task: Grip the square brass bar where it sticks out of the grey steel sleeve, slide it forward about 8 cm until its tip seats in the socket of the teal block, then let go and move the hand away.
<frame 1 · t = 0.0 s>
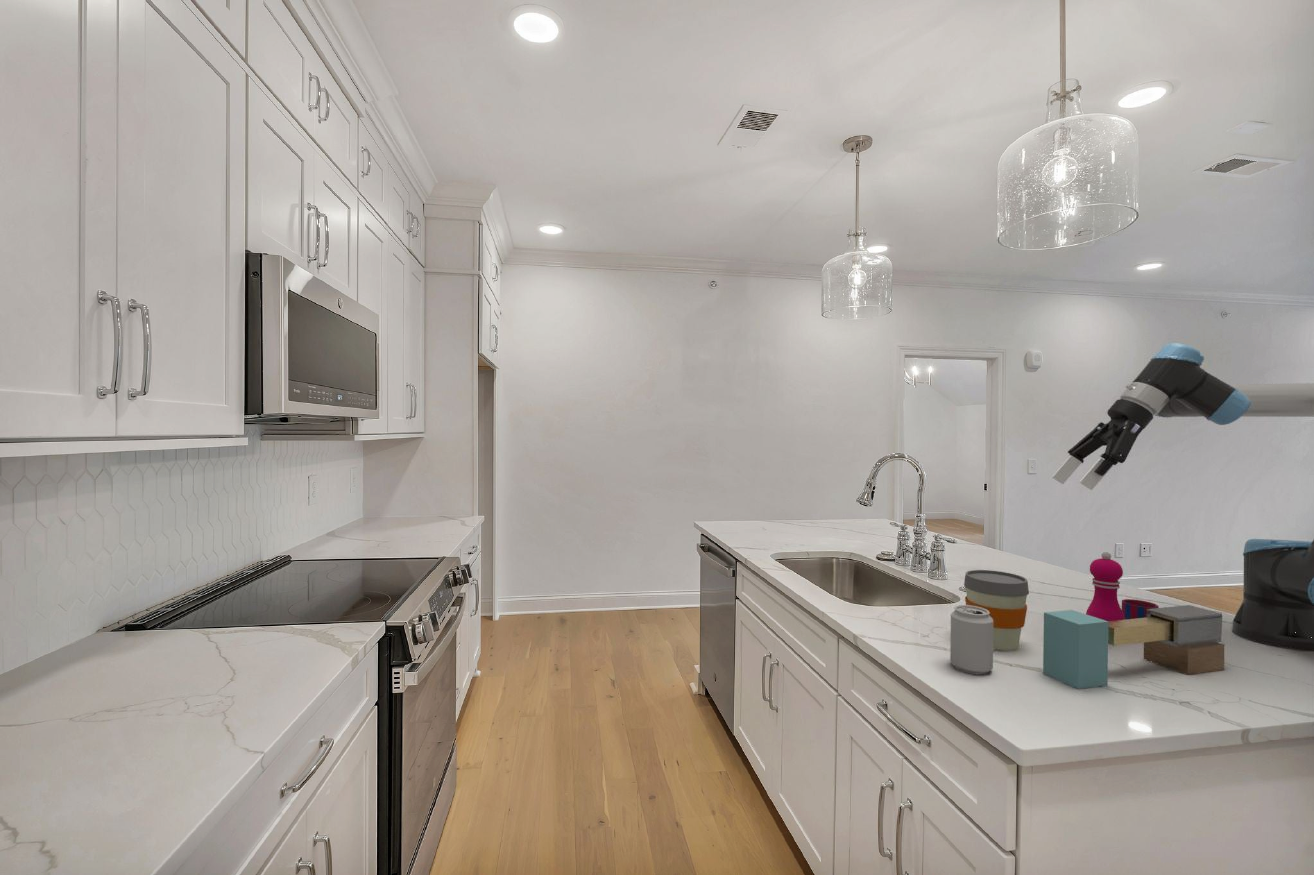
hand: (1070, 483, 129), 36 cm above the counter, tool tilted 35°, fingers open, 13 cm apart
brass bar: (1158, 628, 115), point 8 cm above the counter, slide at 0.0 cm
can: (971, 669, 114), on the counter
pepper mill: (1104, 639, 131), on the counter
sleeve stand: (1182, 664, 116), on the counter
cup: (1147, 634, 134), on the counter
socket block: (1076, 678, 109), on the counter
reusable coffee cup: (994, 643, 128), on the counter
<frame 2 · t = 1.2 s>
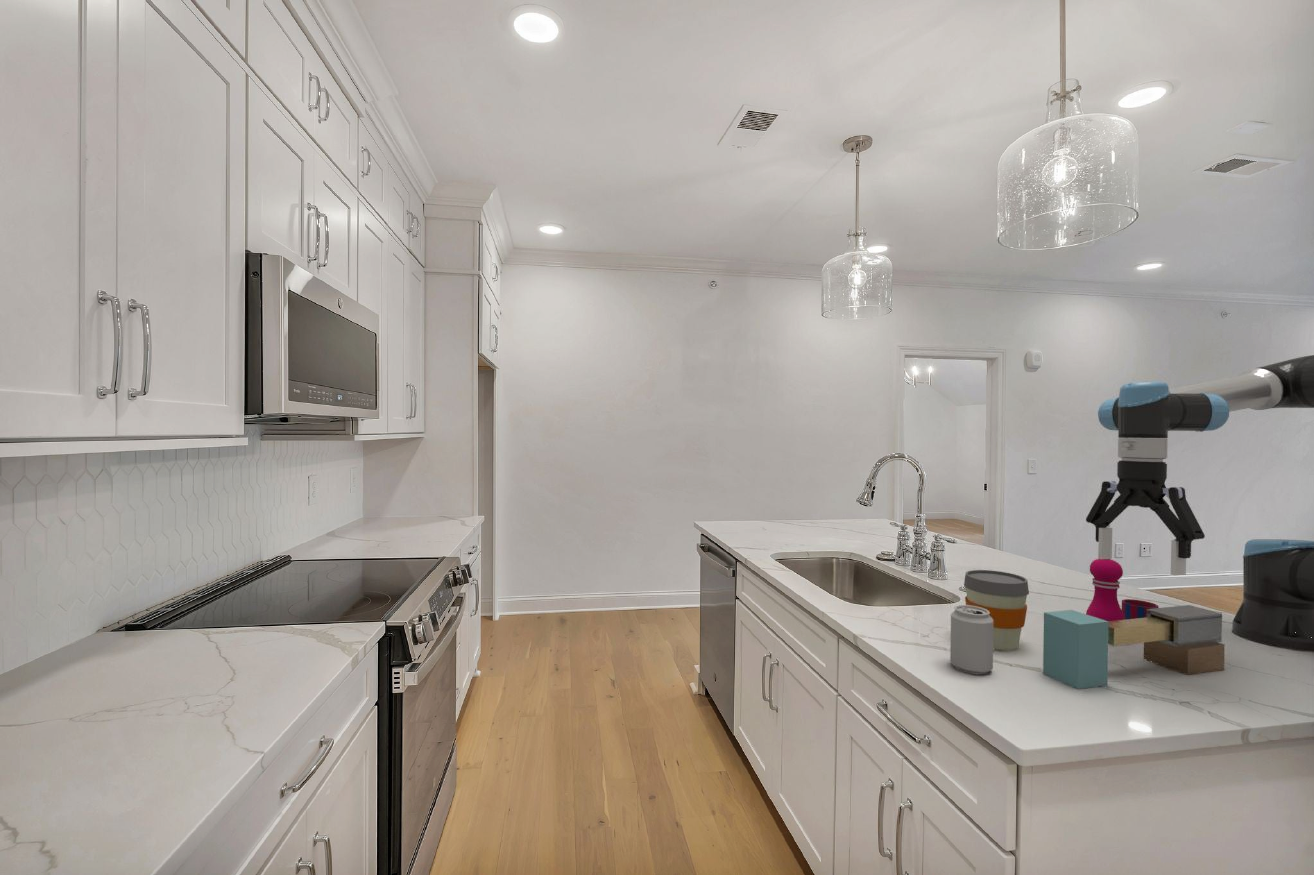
hand: (1139, 566, 113), 21 cm above the counter, tool pointing down, fingers open, 13 cm apart
nothing on the counter moved.
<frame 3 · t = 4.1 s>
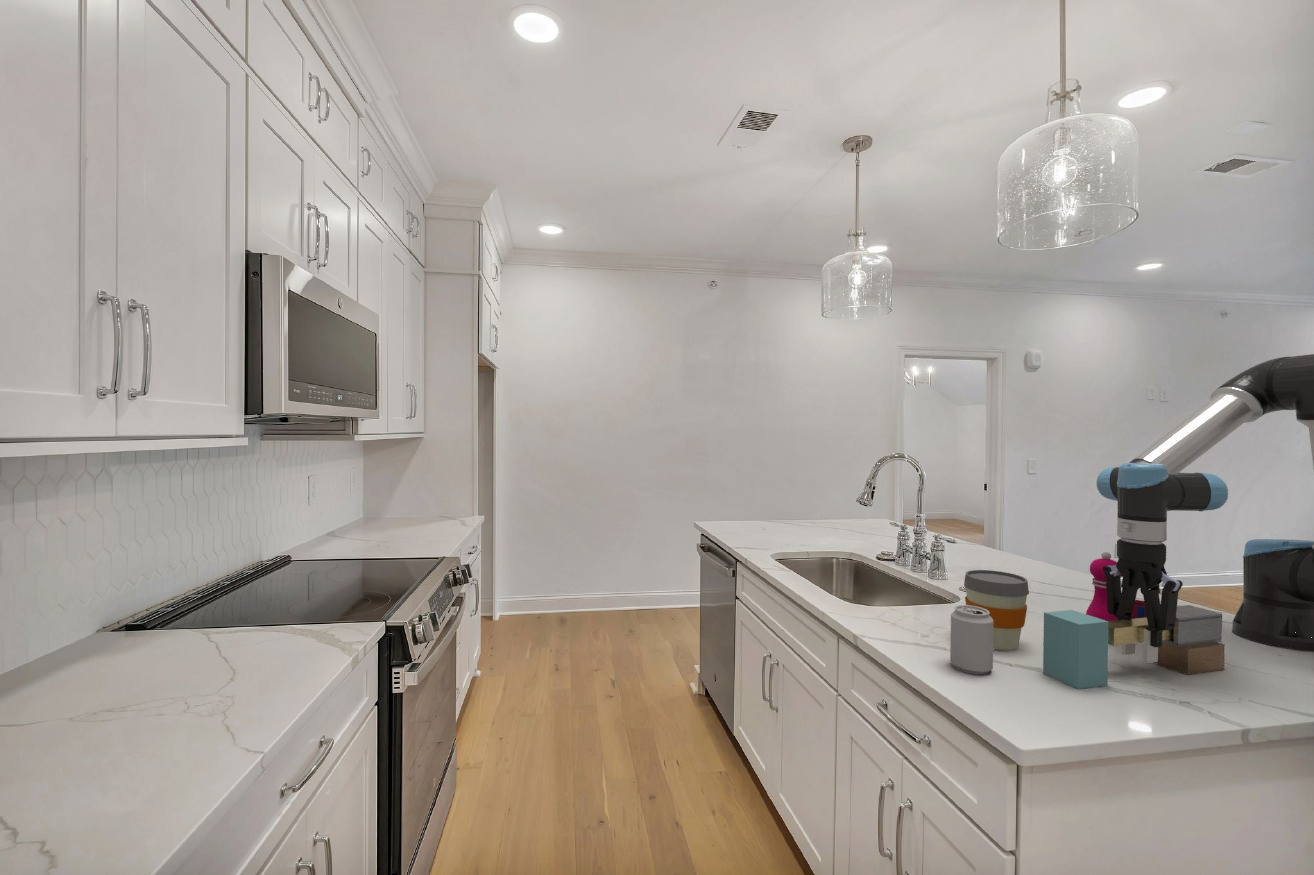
hand: (1139, 657, 113), 3 cm above the counter, tool pointing down, fingers closed on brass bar, 3 cm apart
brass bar: (1158, 628, 115), point 8 cm above the counter, slide at 0.0 cm, touching gripper
everything else where it was.
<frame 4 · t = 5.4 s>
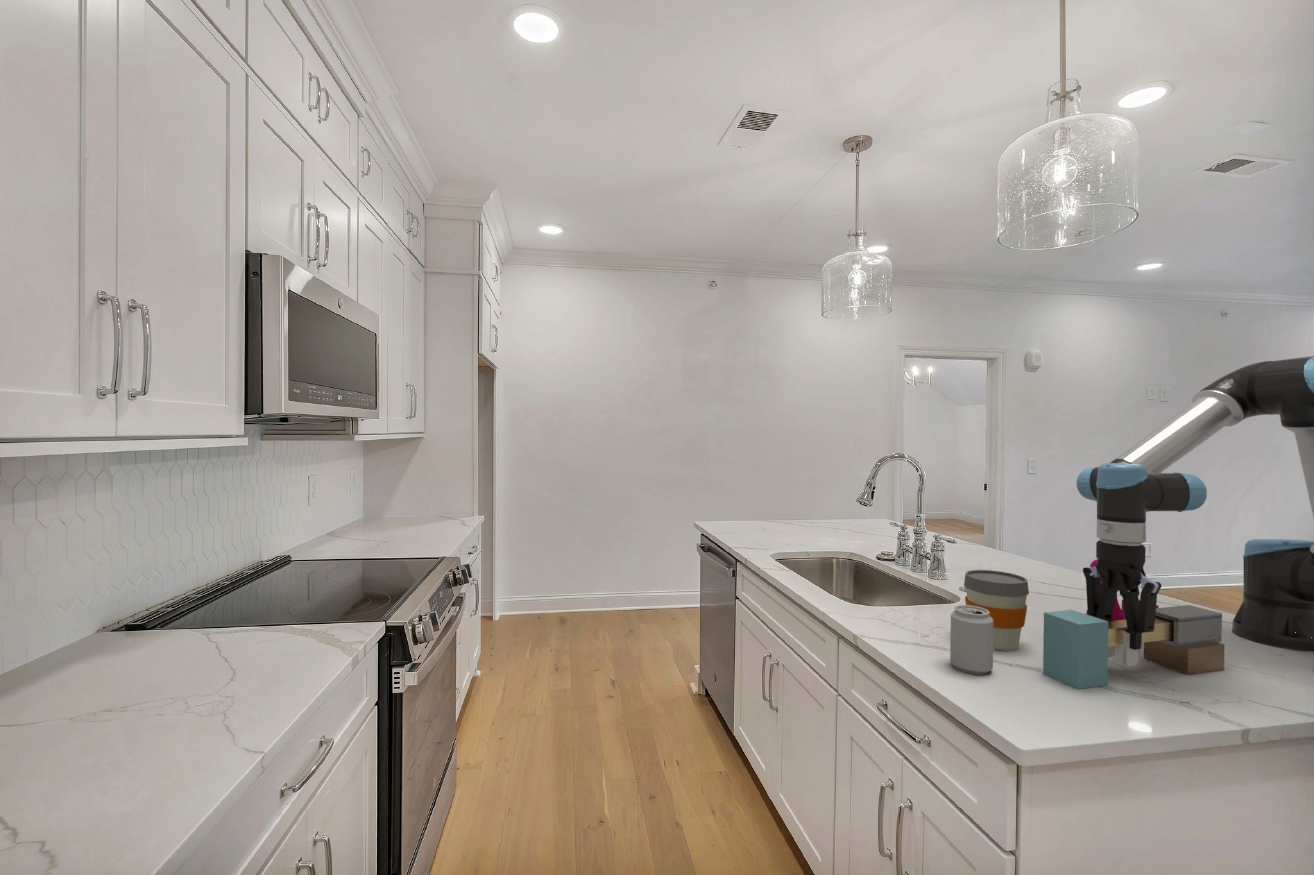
hand: (1118, 659, 112), 3 cm above the counter, tool pointing down, fingers closed on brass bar, 3 cm apart
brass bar: (1138, 630, 113), point 8 cm above the counter, slide at 5.4 cm, touching gripper
everything else where it was.
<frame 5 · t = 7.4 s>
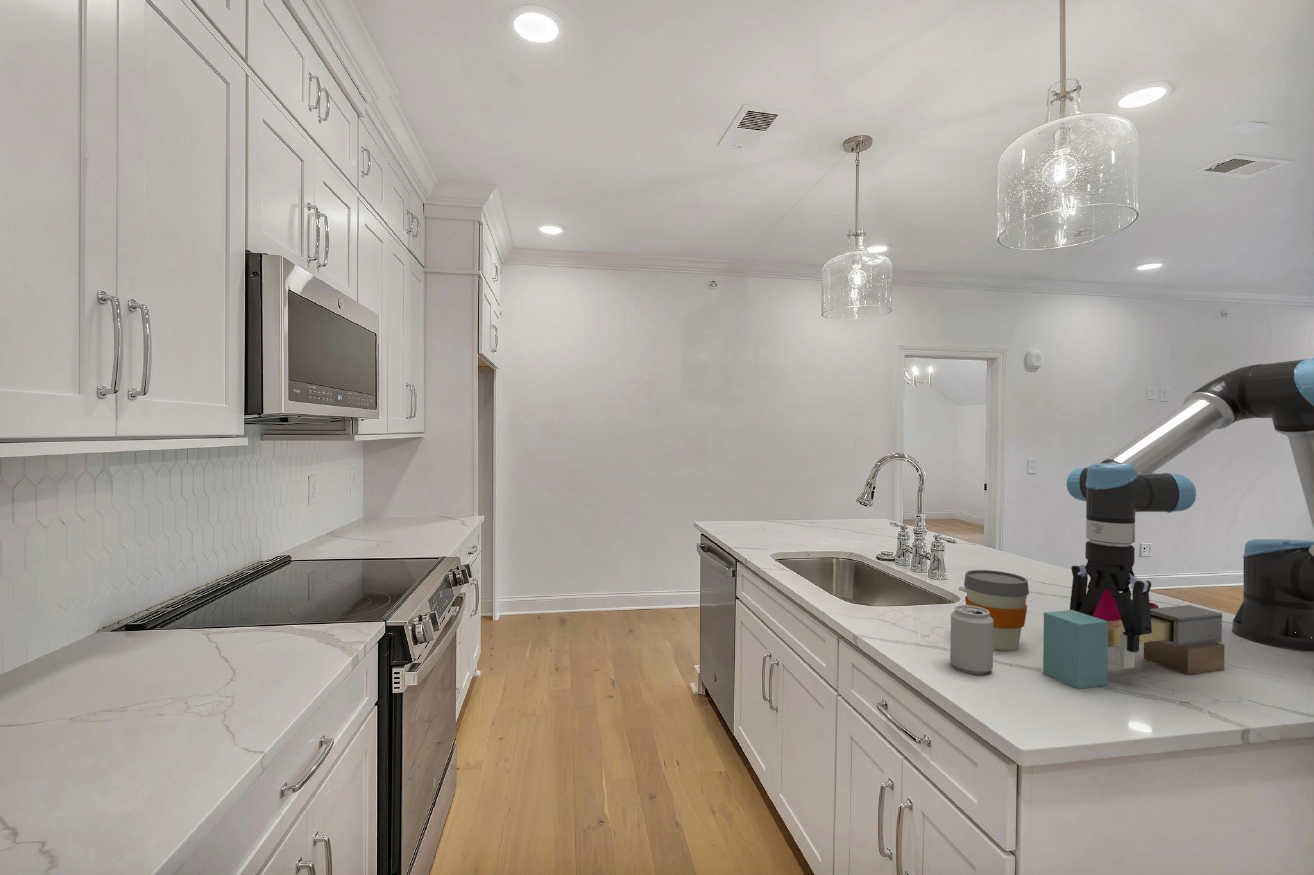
hand: (1107, 659, 111), 3 cm above the counter, tool pointing down, fingers open, 7 cm apart
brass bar: (1127, 631, 113), point 8 cm above the counter, slide at 8.2 cm
everything else where it was.
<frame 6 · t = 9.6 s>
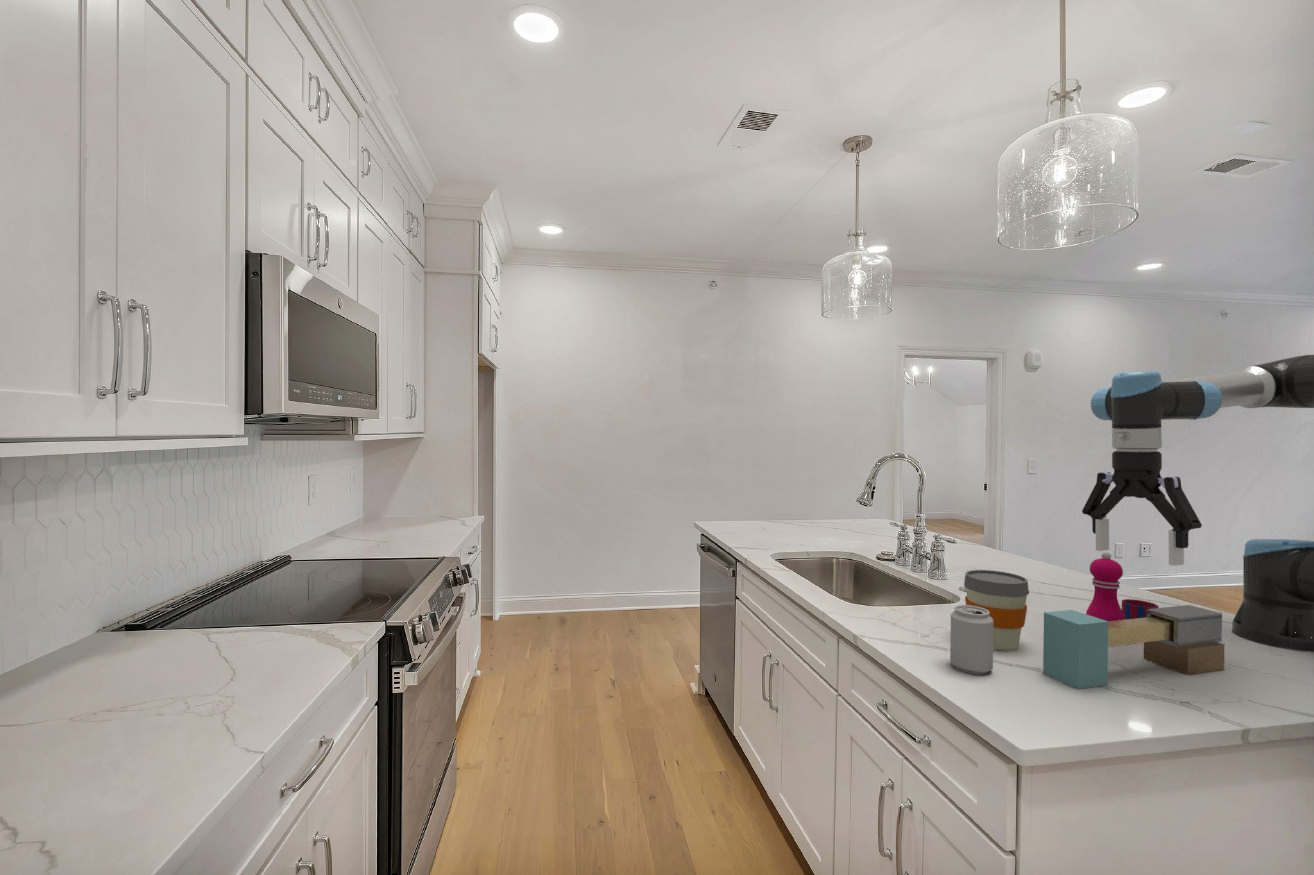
hand: (1137, 557, 113), 23 cm above the counter, tool pointing down, fingers open, 13 cm apart
nothing on the counter moved.
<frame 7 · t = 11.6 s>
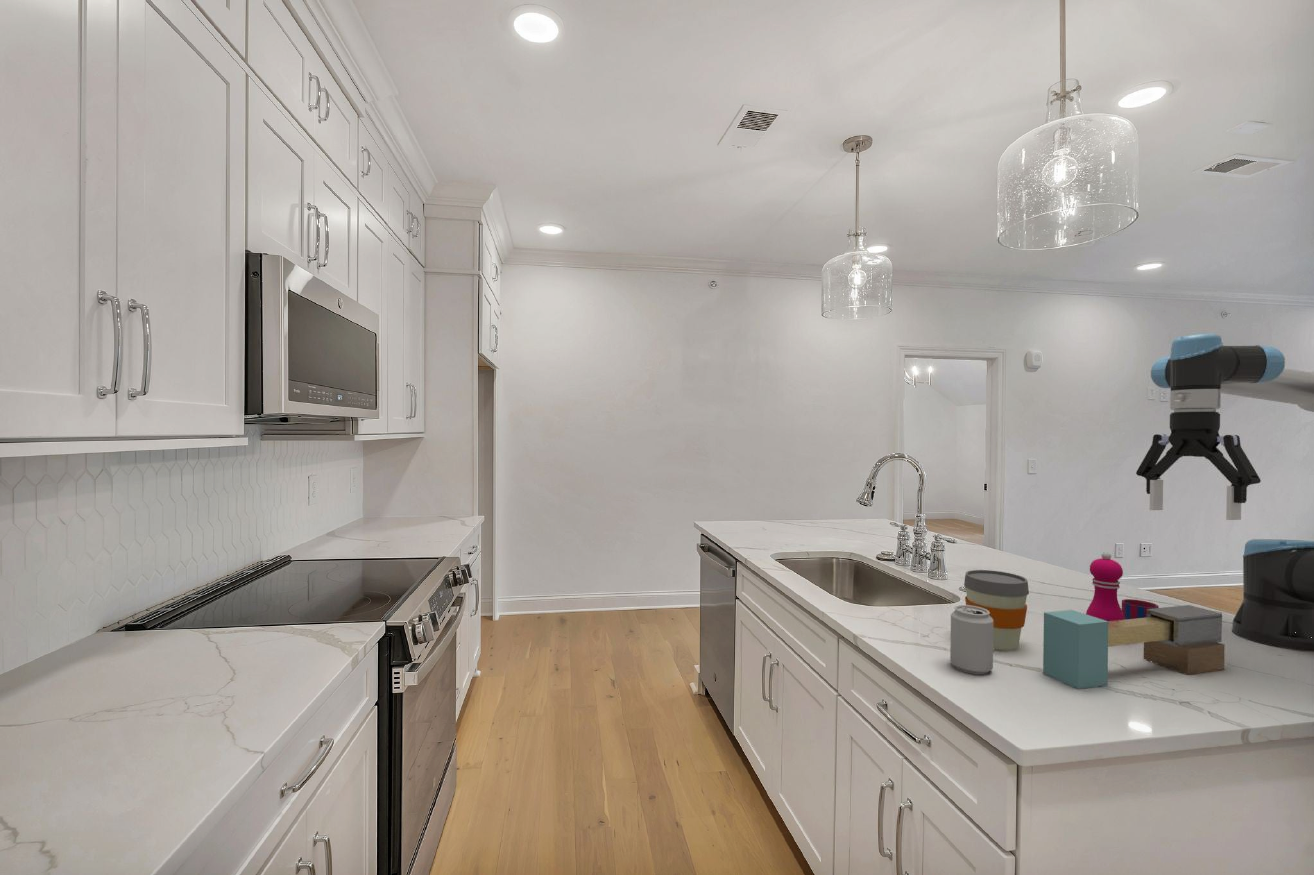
hand: (1192, 514, 117), 31 cm above the counter, tool pointing down, fingers open, 13 cm apart
nothing on the counter moved.
at the end: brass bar slide at 8.2 cm; the gripper is holding nothing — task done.
